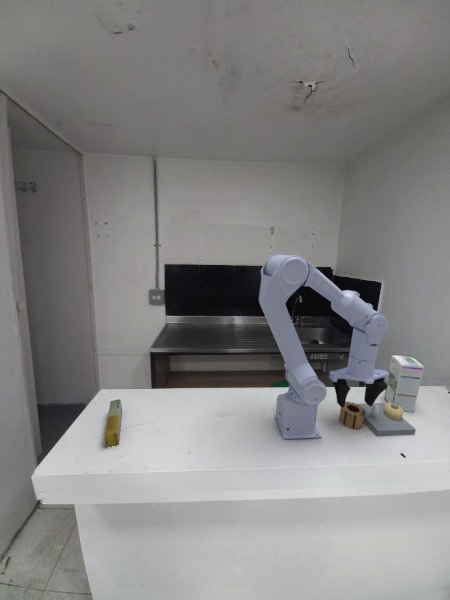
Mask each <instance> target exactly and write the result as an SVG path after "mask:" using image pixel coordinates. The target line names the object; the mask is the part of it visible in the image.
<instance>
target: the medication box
mask: <svg viewBox="0 0 450 600" xmlns="http://www.w3.org/2000/svg"><path fill="white" fill-rule="evenodd" d="M122 419H123V405H122V401H121V399H119V398H118V399H114V400H111V401H110V403H109V407H108V413H107V419H106V426H105V431H104V432H105V433H104V440H105V444H106V448H107V447H111V448H113V447H112V446H115V447H118V446H120V443H121V441H120V440H121V433H122V430H121V429H122V422H123V420H122ZM120 432H121V433H120ZM119 442H120V443H119ZM117 445H118V446H117Z"/></svg>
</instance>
